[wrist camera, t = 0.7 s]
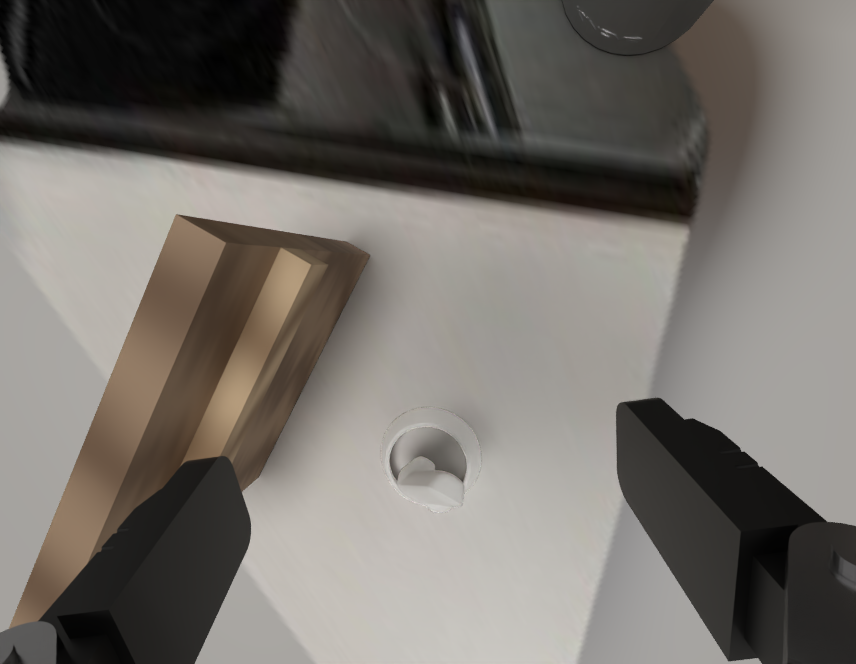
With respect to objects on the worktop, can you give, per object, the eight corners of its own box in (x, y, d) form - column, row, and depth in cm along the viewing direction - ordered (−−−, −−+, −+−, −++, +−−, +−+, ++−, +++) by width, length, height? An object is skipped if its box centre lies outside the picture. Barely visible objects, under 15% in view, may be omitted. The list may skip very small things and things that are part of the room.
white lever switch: (549, 415, 28) (522, 536, 25) (474, 437, 38) (450, 523, 36) (437, 367, 27) (395, 487, 24) (392, 403, 37) (360, 489, 35)
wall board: (346, 241, 33) (176, 214, 15) (388, 265, 33) (264, 264, 15) (237, 464, 37) (2, 644, 19) (274, 486, 37) (70, 689, 19)
